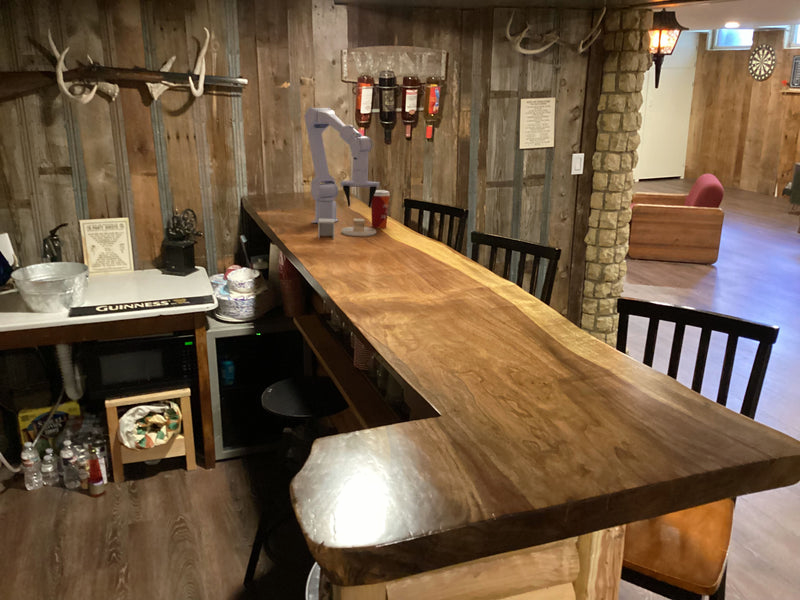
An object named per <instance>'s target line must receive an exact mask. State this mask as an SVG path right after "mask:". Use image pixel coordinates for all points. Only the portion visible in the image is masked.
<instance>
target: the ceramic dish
mask: <svg viewBox="0 0 800 600" xmlns="http://www.w3.org/2000/svg"><path fill="white" fill-rule="evenodd" d="M353 227H354V226H348V227H343V228H341V234H342V235H345V236H350V237H363V238H364V237H372V236H375V235H377V230H376V228H374V227H367V226H364V232H362V231H353Z"/></svg>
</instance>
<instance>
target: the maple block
mask: <svg viewBox="0 0 800 600" xmlns="http://www.w3.org/2000/svg"><path fill="white" fill-rule="evenodd" d="M352 227H353V231H362V232H364V227H365V218H353V226H352Z"/></svg>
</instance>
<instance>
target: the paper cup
mask: <svg viewBox="0 0 800 600" xmlns="http://www.w3.org/2000/svg"><path fill="white" fill-rule="evenodd" d="M390 195H391V194H390V191H388V190H385V189H384V190H383V189H376V192H375V194H374V196H373V199H372V202H371V207H370V208H371V228H373V229H386V228H387V226H388V225H387V223H388V213H389V212H388V211H389V204H390V203H389V202H390Z"/></svg>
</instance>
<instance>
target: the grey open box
mask: <svg viewBox="0 0 800 600" xmlns="http://www.w3.org/2000/svg"><path fill="white" fill-rule="evenodd" d="M335 223H336V222H335V219H321V218H319V221H318V223H317V224H318V226H317V229H318V230H317V235H318V236H317V239H320V238H321V236H323V237H327V236H328V237H329V236H331V237H332V239H333V240H335V227H336V226H335Z"/></svg>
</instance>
